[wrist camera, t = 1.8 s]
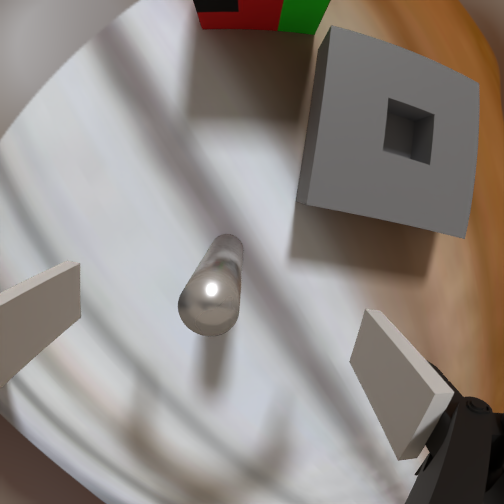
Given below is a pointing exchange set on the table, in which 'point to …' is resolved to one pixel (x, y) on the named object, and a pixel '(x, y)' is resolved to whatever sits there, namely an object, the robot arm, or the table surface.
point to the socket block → (390, 135)
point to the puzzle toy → (262, 14)
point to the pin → (214, 289)
